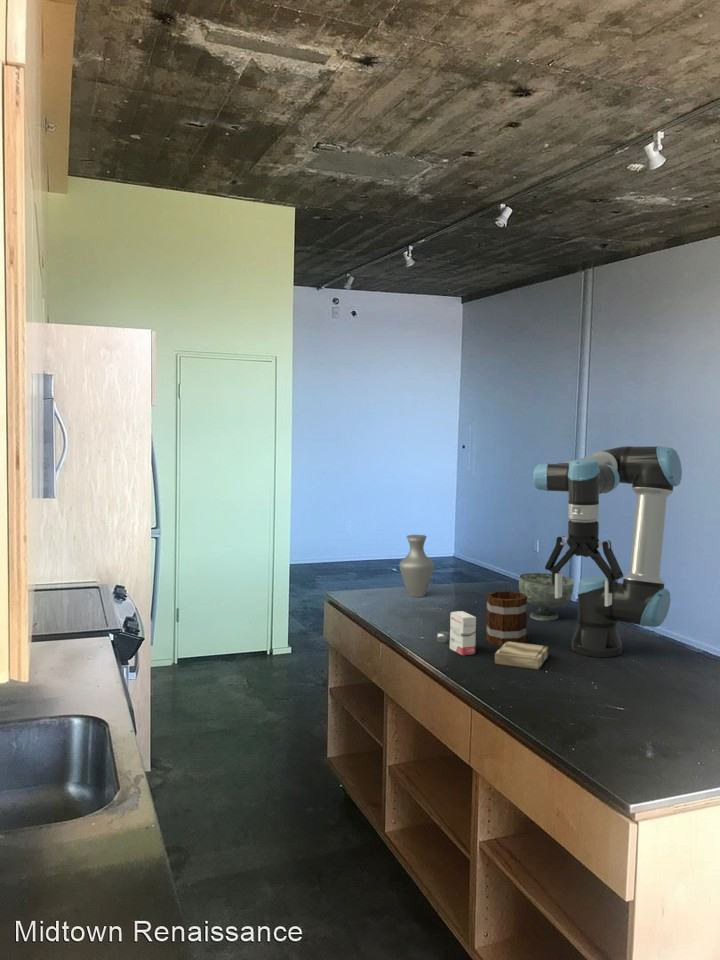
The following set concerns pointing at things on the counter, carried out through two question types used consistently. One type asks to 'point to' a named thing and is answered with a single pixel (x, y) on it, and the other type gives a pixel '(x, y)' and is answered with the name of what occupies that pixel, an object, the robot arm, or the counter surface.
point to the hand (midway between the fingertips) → (582, 601)
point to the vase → (416, 567)
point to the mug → (506, 617)
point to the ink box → (462, 632)
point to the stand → (521, 655)
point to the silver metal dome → (443, 637)
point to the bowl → (544, 593)
